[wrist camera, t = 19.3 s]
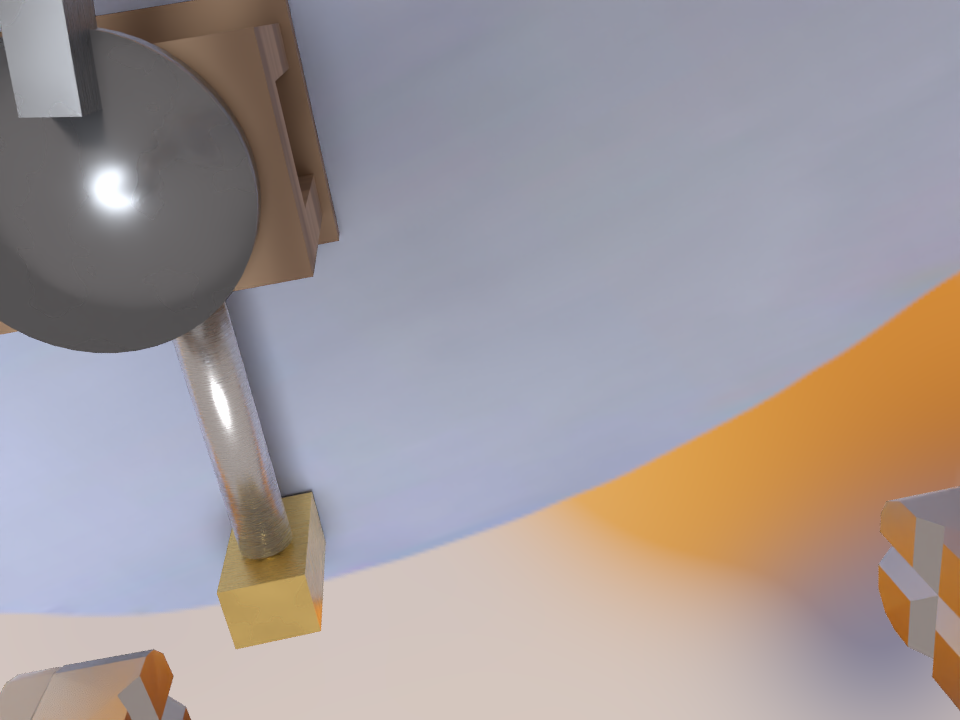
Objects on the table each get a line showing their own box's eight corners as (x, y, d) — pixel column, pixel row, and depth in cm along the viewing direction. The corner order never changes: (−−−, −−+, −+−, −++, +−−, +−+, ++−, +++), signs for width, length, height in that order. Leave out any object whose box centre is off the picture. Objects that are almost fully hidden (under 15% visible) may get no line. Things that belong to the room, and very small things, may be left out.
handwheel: (274, 331, 33) (260, 390, 28) (-29, 345, 32) (-103, 409, 26) (229, -132, 27) (200, -164, 22) (-148, -139, 26) (-272, -176, 21)
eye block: (284, -14, 40) (256, -23, 29) (339, 233, 45) (334, 310, 33) (-20, 36, 39) (-175, 46, 28) (69, 282, 44) (-32, 379, 32)
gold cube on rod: (241, 227, 44) (218, 271, 36) (325, 542, 51) (321, 630, 44) (154, 243, 43) (113, 290, 36) (252, 557, 51) (235, 649, 44)
